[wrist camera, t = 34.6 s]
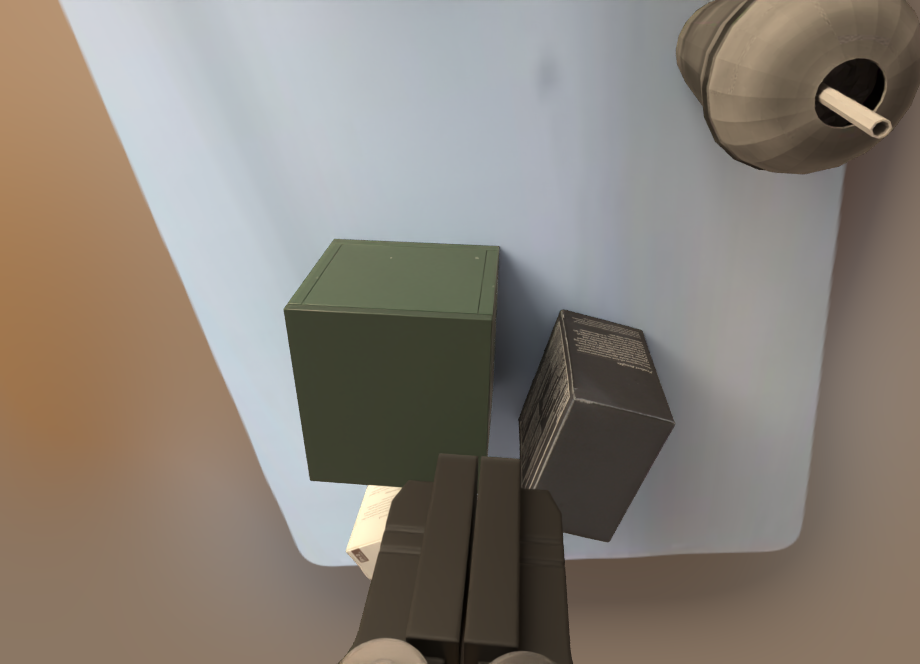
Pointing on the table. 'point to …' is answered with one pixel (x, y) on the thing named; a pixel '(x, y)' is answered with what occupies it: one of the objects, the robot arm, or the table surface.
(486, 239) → the table surface
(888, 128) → the beverage cup
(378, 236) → the table surface
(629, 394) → the small box
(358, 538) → the white cardboard box
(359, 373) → the bin lid
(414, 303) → the bin
